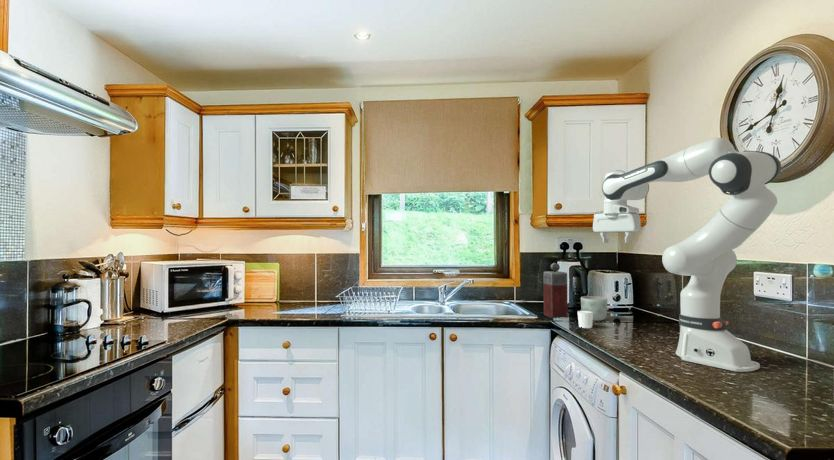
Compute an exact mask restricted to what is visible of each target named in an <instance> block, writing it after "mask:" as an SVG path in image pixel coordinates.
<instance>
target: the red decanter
mask: <svg viewBox="0 0 834 460" xmlns="http://www.w3.org/2000/svg"><path fill="white" fill-rule="evenodd" d="M560 268H561V267H560V264H559V263H556V262H553V263H551V264H550V270H551V271H549V270H548V271H547V270H546V271H543V316H546V317H548V318H551V319H556V318H557V317H558V318H557V319H559V318H560V317H565V318H568V272H564V271H559V270H560Z"/></svg>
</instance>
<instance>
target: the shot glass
mask: <svg viewBox="0 0 834 460" xmlns="http://www.w3.org/2000/svg"><path fill="white" fill-rule="evenodd" d="M577 320H578V327H579V328H581V327H582V328H583V329H592V328H593V323H594V322H593V312H591V311H581V310H577ZM582 328H581V329H582Z"/></svg>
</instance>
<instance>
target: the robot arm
mask: <svg viewBox="0 0 834 460" xmlns="http://www.w3.org/2000/svg"><path fill="white" fill-rule="evenodd" d="M781 171H782V163H781V161H780V160H779V158H778V156H776V155H773V154H772V153H769V152H765V151H756V150H743V151H737V150H736V148H735V147H734V144H732V142H731V141H729V140H728V139H726V138H725V137H715V138H711V139H707V140H704V141H700V142H697V143H695V144H692V145H691V146H688V147H686V148H683V149H681V150H679V151H677V152H675V153H672V154H670V155H668V156H666V157H664V158H660V159H658V160H656V161H654V162H651V163H648V164H645V165H643V166H639V167H637V168H635V169H632V170H629V171H627V172H625V170H619V169H617V170H612V171H610V172H607V173H605V176H604V179H603V182H602V185H601V190H602V194H603V197H604V200H603V210H601V211H600V210H599V211H596V212H595V213H594V214H593V222H592V231H593V233H600V234H599V235H600V237H601V239H602V243H605V244H606V243H607V244H608V243H609V238H607V236H606V235H607V233H614V232H615V233H618V232H619V233H623V232H624V235H625V237H624V238H622V243H623V244H629V242H630V238H631V236H632V233H633V232H640V230H641V228H642V227H641V226H642V223H641V222H642V221H641V217H640V214H639V212H640V208H638V207H635V206H631V205H628V201H640V200H643V199H644V198H646V197H647V196H648V193H649V190H650V183H655V182H656V183H657V182H658V183H659V182H666V183H669V182H671V183H674V182H675V183H683V182H690V181H693V180H697V179H700V178H704V177H705V176H709V179H710V181H711V182H712V183H713V184H714V185H715V186H716V187H718V188H719V189H720V191H721V193H723V194H724V195H728V196H729V198H728V200H727V201H726V202H725V203H724V204H723V205H722V206H721V207H720V209H718V210H717V212H716V213H715V214H714V215H713V216H712V217H711V218H710V220H709V221H707V222H706V224H705V225H704V226H702V227H700V228H699V229H698V230H697V231H695V232H694V233H692V234H691V235H689V236H688V237H686V238H685V239H683V240H682V241H680V242H678V243H675V244H673V245H670V246H669V247H667V248H665V249H664V251H663V252H662V256H661V257H662V258H661V259H662V260H661V262H662V264H663V265H662V266H663V267H664V268H665V270H666V271H667V272H669V273H671V274H674V275H677V276H678V275H679V276H683V277H688V276H689V277H690V279H689V282H688V283H687V284H686V285H685V287H684V288H683V289H682V290H681V291H680V294H679V296H680V299H679V300H680V304H679V305H680V313H679V314H678V325H679V326H678V327H679V339H678V343H677V347H676V350H675V355H676V356H678V357H680V359H681V360H682V361H685V362H690V363H695V364H700V365H703V366H708V367H713V368H718V369H723V370H728V371H731V372H741V373H743V372H746V373H748V372H754V371H757V370H759V369H760V368H761V365H760V363H759V362H757V361H755V360H752V359H751V358H752V357H751V353H750V352H751V351H750V350H749V347H748V346H747V345H746V344H745V343H744V342H742V341H741V340H740V339H738V338H737V337H736V336H735V335H733V333H732V332H730V331H728V330H727V325H730V324H729V322H730V321H728V320H727V321H725V320H724V319H723V318H722V317H721V295H722V289H723V286H724V283H725V282H726V278H727V276H728V275H729V273H731V272H732V271H733V270H734V269H735V268H736V266H737V263H738V259H737V254H736V253H735V251H734V249H735V250H736V249H737V248H739V247H740V246H742V244H743V243H744V242H746V240H748V238H750V237H751V235H753V234H754V233H755V232H756V231H757V230H758V229H759V228H760V227H761V226H762V224H764V222H766V220H768V218H769V216H771V214H772V212H773V211H774V209H775V208H776V206H777V204H778V198H777V196H776V194H775V193H774V192H773V191H772V190H771V189H769V188H768V187H767V186H766V185H768V184H770V183H772V182H773V181H774V180H776V179H777V178H778V177H779V175H780V174H781Z"/></svg>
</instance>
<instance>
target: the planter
mask: <svg viewBox="0 0 834 460" xmlns="http://www.w3.org/2000/svg"><path fill="white" fill-rule="evenodd" d="M580 307H581V308H580V311H591V312H593V321H595V322H596V321H597V322H599V321H600V322H602V321H604V320H605V319H606V318H607V316H608V298H607V297H603V296H594V295H590V296H589V295H584V296H581V297H580Z"/></svg>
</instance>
